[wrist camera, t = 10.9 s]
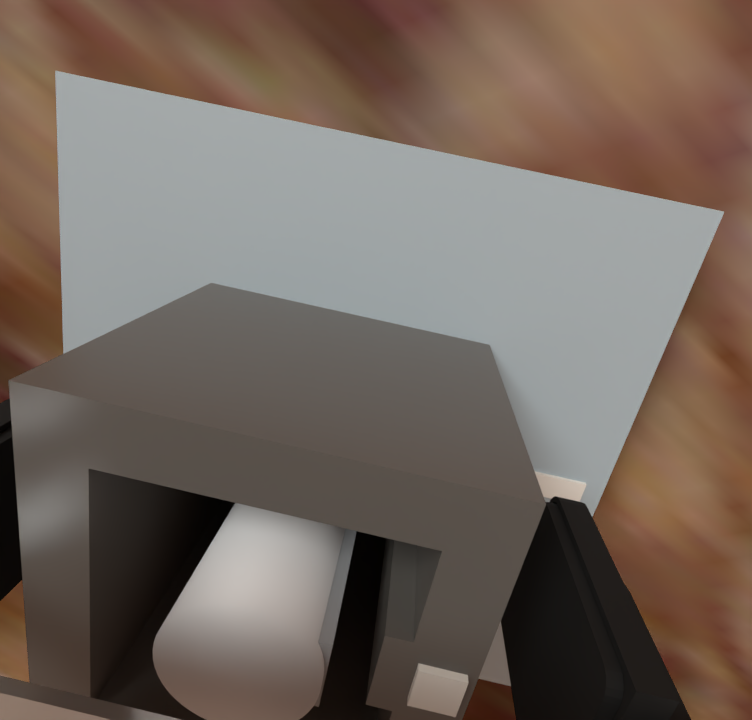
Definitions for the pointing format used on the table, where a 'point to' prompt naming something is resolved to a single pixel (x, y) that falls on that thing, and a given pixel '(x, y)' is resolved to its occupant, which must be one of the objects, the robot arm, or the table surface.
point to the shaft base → (363, 298)
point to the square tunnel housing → (271, 492)
